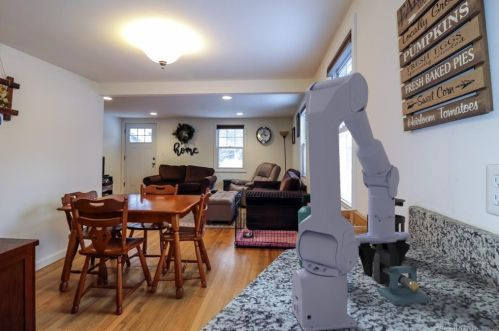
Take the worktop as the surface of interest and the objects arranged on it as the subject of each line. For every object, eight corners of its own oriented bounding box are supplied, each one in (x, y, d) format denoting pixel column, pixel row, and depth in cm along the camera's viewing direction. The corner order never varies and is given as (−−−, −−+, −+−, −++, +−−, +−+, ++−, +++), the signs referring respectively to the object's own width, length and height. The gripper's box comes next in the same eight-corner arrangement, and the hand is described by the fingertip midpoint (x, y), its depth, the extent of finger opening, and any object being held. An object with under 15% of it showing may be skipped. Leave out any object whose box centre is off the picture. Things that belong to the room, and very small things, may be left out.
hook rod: (422, 304, 58) (422, 270, 58) (410, 305, 58) (410, 271, 58) (383, 278, 71) (383, 250, 71) (373, 278, 71) (373, 251, 71)
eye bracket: (431, 301, 60) (431, 270, 59) (394, 304, 58) (394, 273, 58) (411, 289, 66) (411, 261, 65) (377, 291, 64) (377, 263, 64)
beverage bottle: (325, 277, 72) (324, 195, 72) (297, 275, 74) (296, 194, 74) (323, 268, 79) (323, 192, 79) (298, 266, 80) (297, 192, 80)
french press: (415, 258, 86) (414, 178, 85) (397, 265, 80) (397, 180, 80) (377, 248, 95) (377, 177, 95) (359, 254, 90) (358, 178, 90)
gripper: (363, 220, 64) (364, 283, 64) (421, 217, 67) (421, 277, 67) (346, 215, 71) (346, 272, 71) (398, 212, 74) (398, 266, 74)
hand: (381, 273), depth 70 cm, fingers open, 6 cm apart
